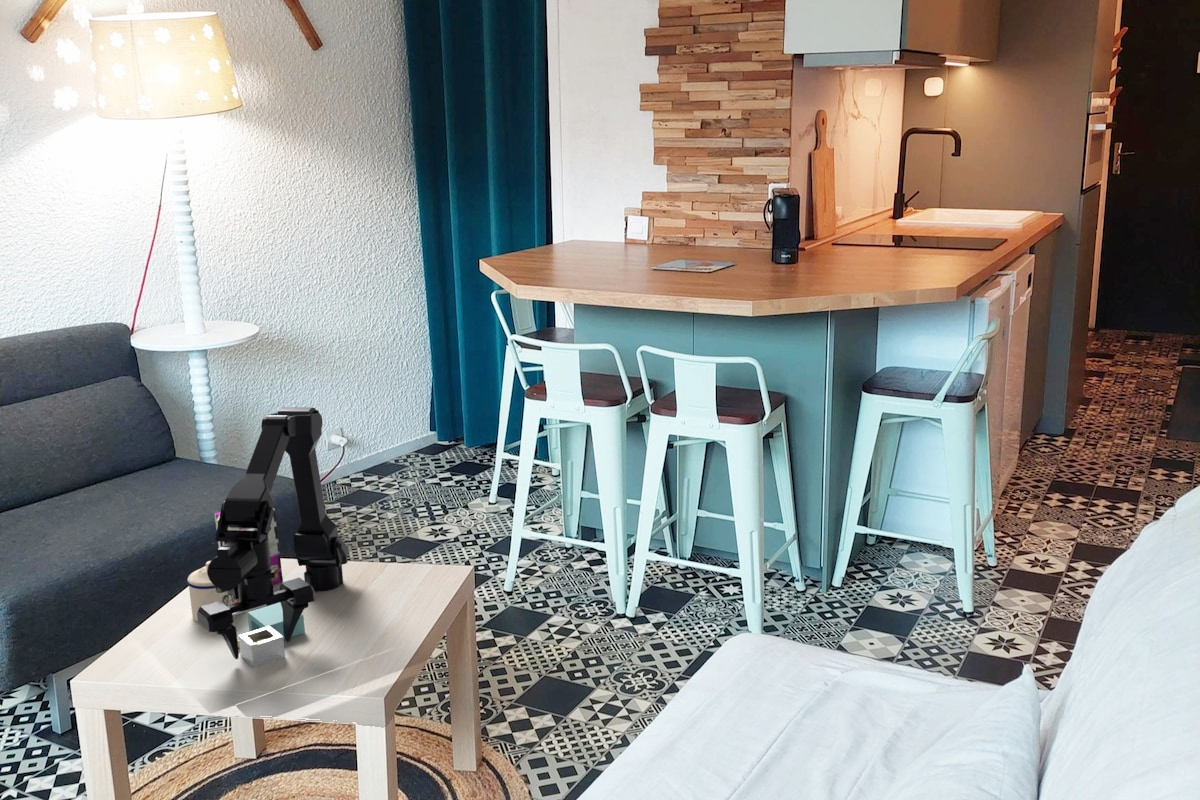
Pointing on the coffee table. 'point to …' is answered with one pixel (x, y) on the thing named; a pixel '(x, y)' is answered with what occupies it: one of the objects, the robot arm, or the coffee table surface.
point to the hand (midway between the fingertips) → (262, 649)
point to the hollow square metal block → (261, 646)
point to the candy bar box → (272, 548)
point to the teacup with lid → (205, 591)
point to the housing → (272, 619)
